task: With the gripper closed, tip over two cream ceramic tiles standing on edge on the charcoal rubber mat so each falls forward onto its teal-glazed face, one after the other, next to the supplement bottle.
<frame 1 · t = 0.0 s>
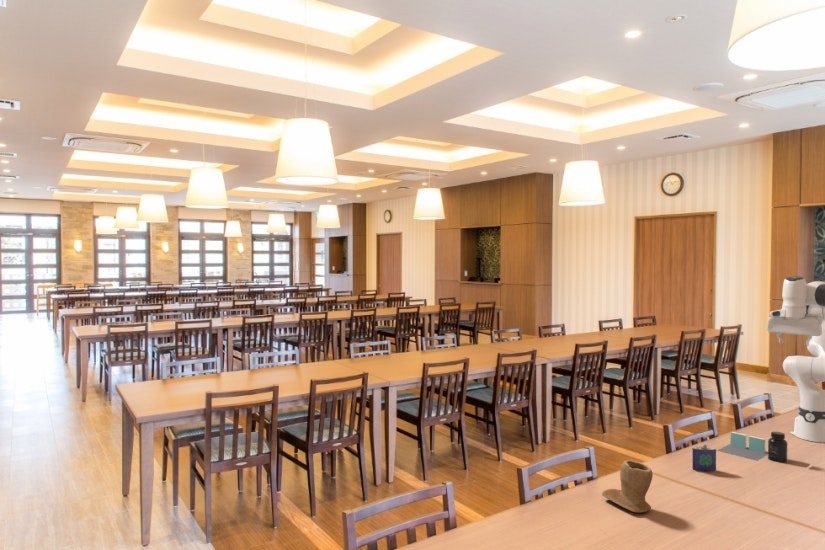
hand: (793, 344, 242), 48 cm above the table, fingers open, 8 cm apart
brown boot: (629, 505, 189), on the table
tile a: (756, 451, 242), point 1 cm above the table, touching mat
mat: (743, 452, 242), on the table
tile b: (738, 446, 248), point 1 cm above the table, touching mat
supplement bottle: (777, 461, 232), on the table
flask: (704, 470, 221), on the table
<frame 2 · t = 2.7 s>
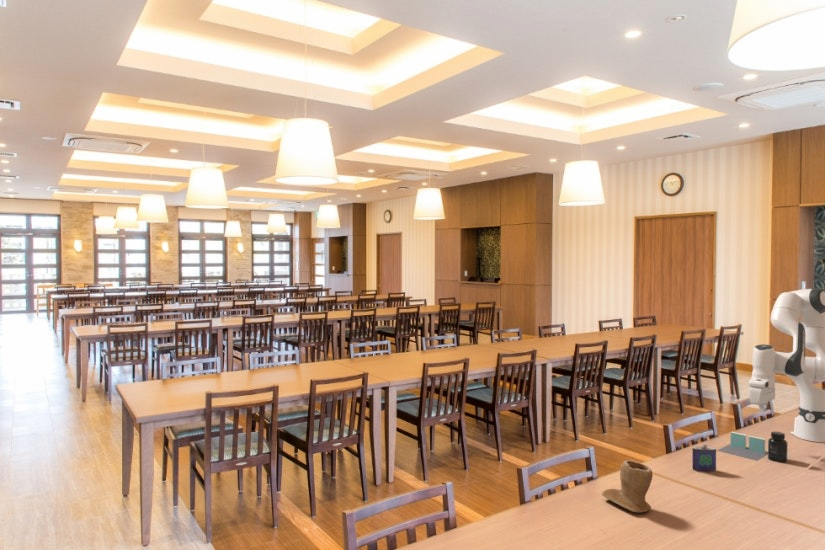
hand: (762, 411, 246), 17 cm above the table, fingers closed
nothing on the table moved.
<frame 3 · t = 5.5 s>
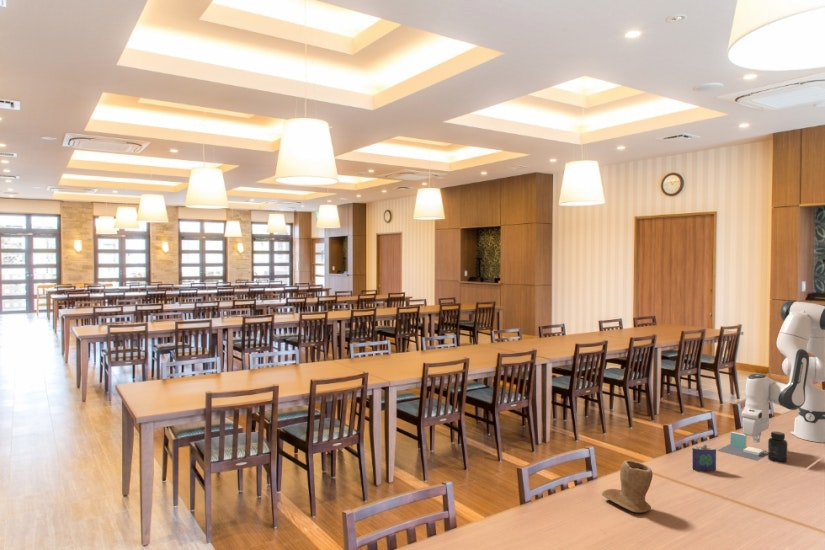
hand: (756, 442, 241), 5 cm above the table, fingers closed
tile a: (756, 449, 241), point 1 cm above the table, tilted 90°, touching mat
everything else where it was.
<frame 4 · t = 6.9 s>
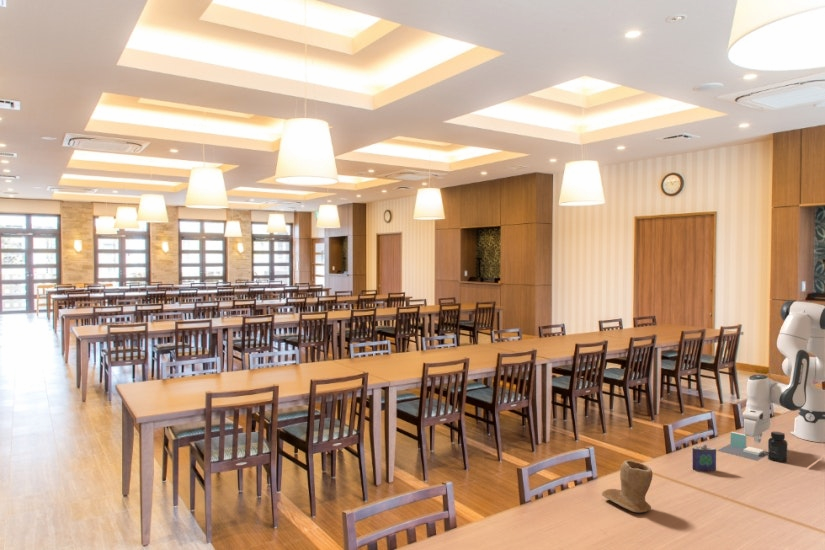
hand: (757, 442, 243), 4 cm above the table, fingers closed
nothing on the table moved.
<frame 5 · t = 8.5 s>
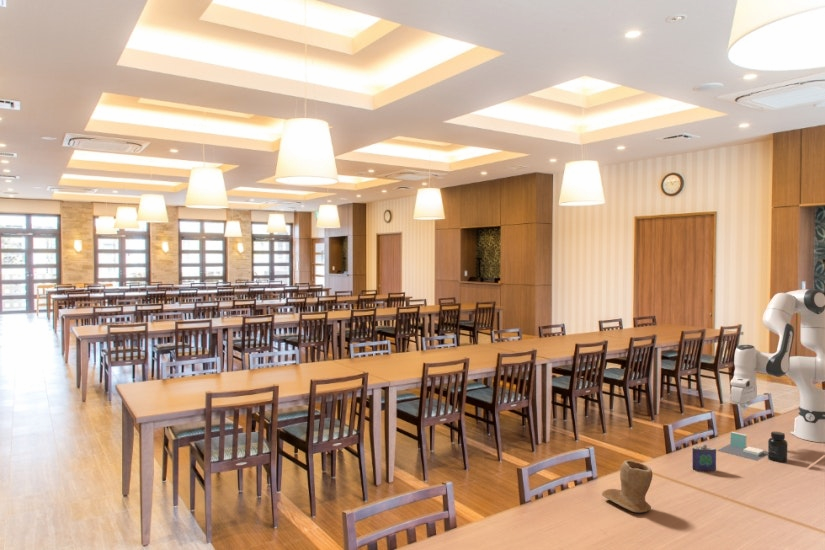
hand: (744, 410, 252), 16 cm above the table, fingers closed
nothing on the table moved.
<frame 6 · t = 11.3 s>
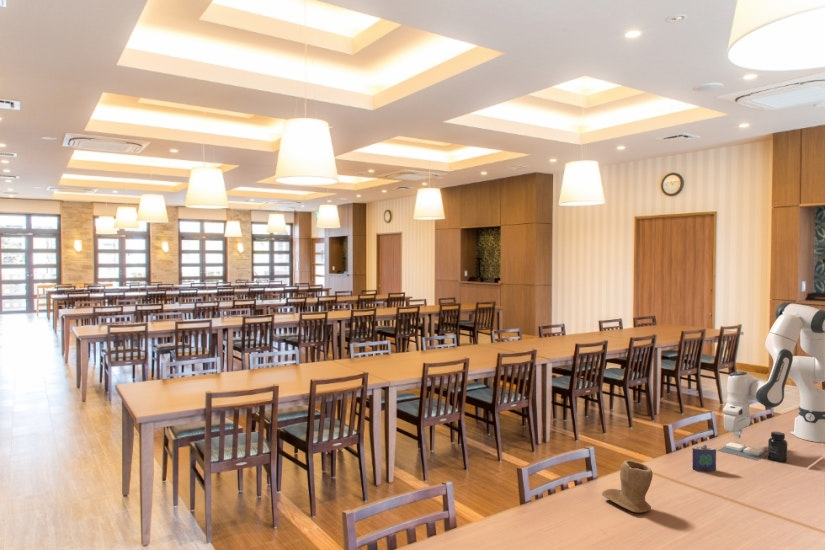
hand: (737, 438, 247), 5 cm above the table, fingers closed
tile b: (737, 445, 247), point 1 cm above the table, tilted 90°, touching mat
everything else where it was.
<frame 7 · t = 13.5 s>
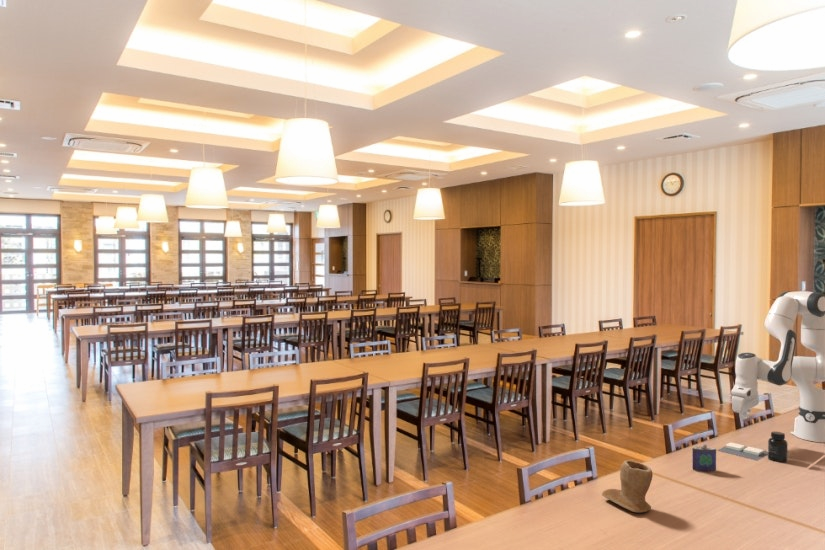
hand: (745, 418, 251), 13 cm above the table, fingers closed
nothing on the table moved.
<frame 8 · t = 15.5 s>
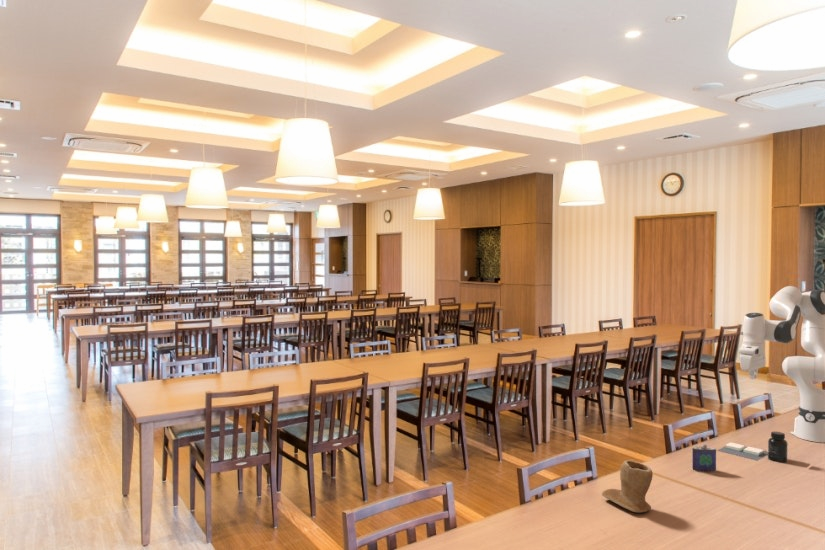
hand: (753, 378, 250), 31 cm above the table, fingers closed
nothing on the table moved.
at the end: tile a tilted 90°; tile b tilted 90°; tile a 5.5 cm from the mat (horizontally) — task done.
